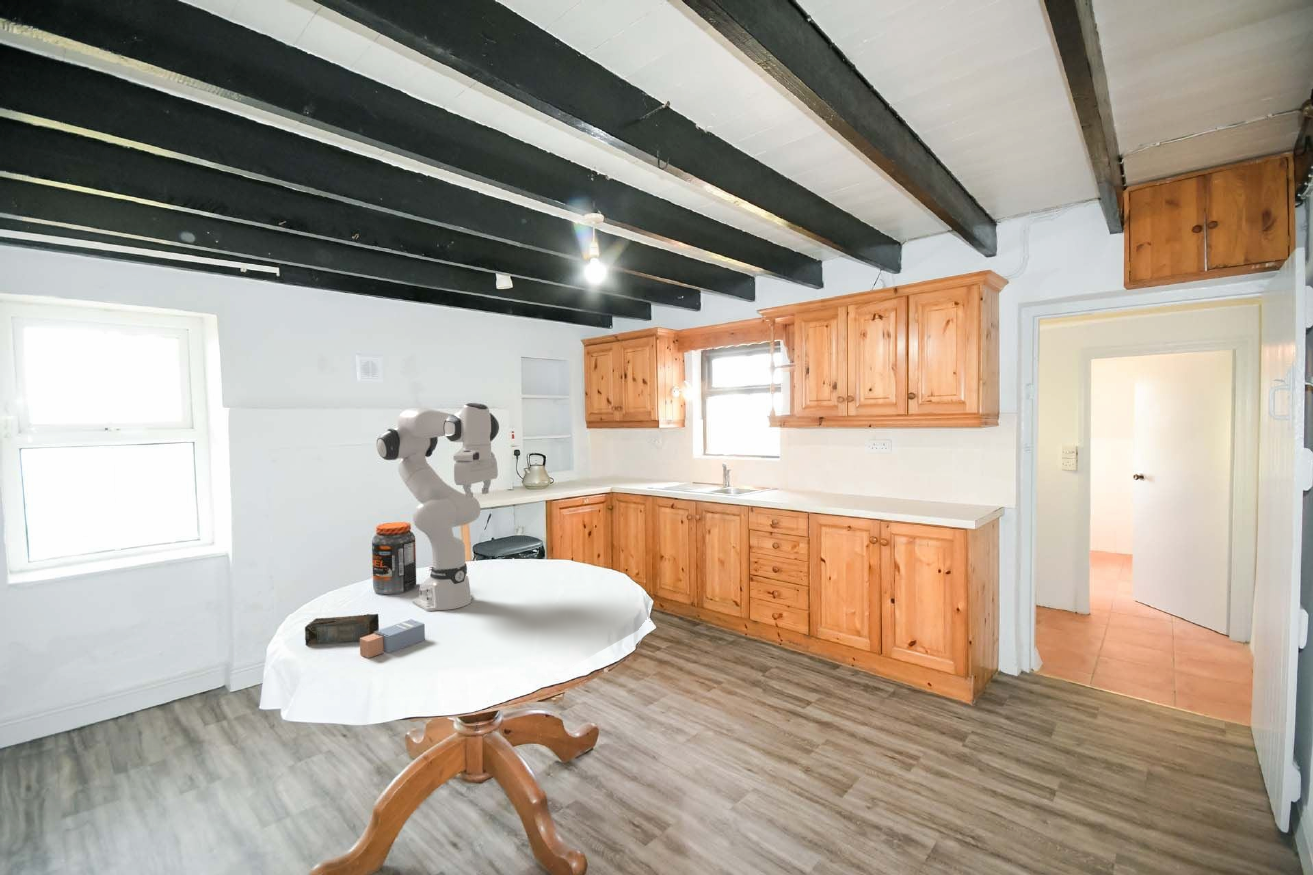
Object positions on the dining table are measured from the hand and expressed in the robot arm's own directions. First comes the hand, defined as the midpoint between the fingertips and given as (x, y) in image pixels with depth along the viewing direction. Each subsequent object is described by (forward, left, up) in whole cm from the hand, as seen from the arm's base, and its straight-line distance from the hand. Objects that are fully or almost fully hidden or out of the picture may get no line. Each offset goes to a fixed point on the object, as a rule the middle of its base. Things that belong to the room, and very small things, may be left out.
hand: (477, 495), depth 184 cm
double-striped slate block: (-8, -23, -43) cm, 49 cm away
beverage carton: (-27, -30, -43) cm, 60 cm away
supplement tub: (-61, +7, -43) cm, 75 cm away
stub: (-8, -32, -43) cm, 54 cm away
